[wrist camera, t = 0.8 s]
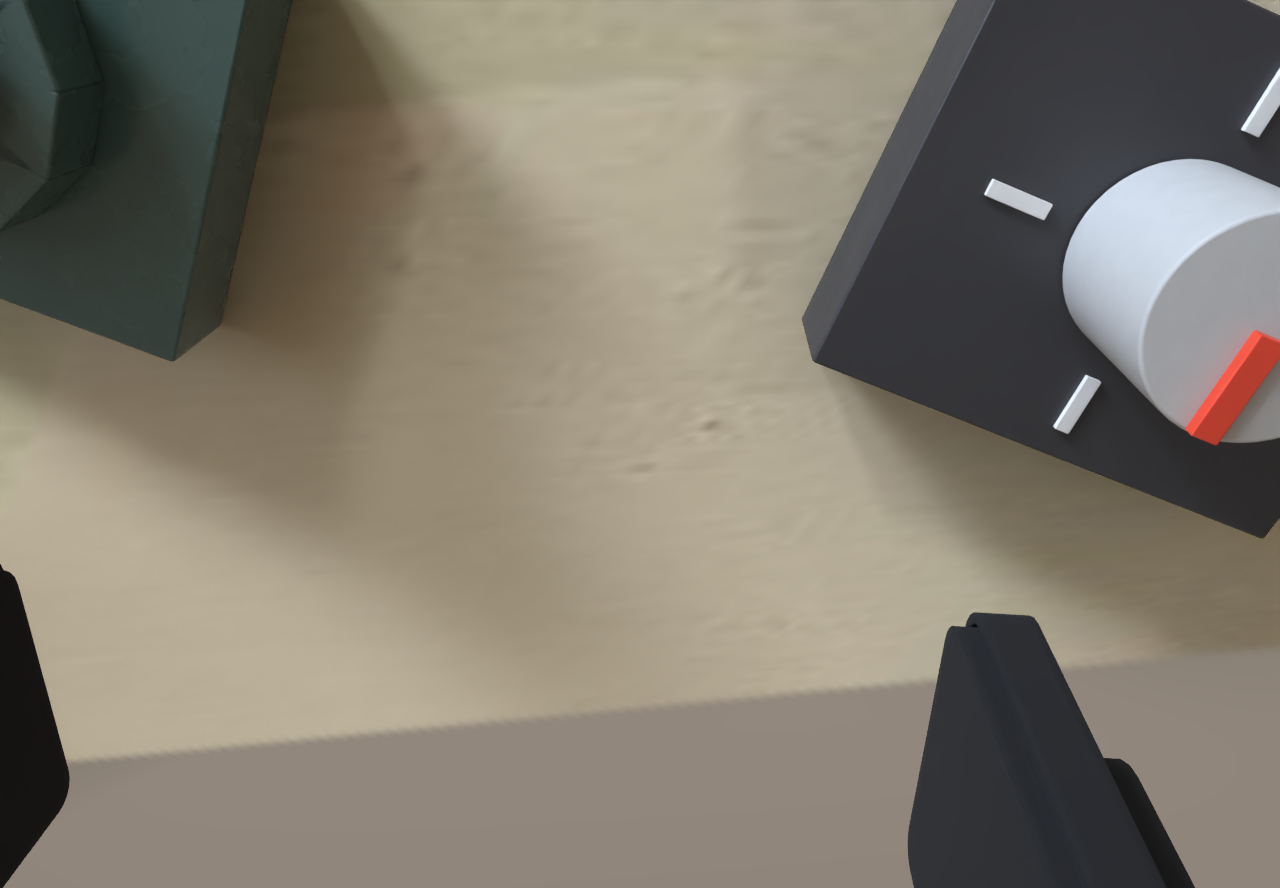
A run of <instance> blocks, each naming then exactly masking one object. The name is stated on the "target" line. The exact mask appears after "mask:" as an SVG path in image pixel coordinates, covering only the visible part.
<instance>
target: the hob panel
mask: <svg viewBox="0 0 1280 888" xmlns="http://www.w3.org/2000/svg"><path fill="white" fill-rule="evenodd" d="M1181 159H1201V160H1208V161H1213V162H1218V163H1221V164H1224V165H1227V166H1229V167H1232V168H1234V169H1237V170H1239V171H1241V172H1244V173H1246V174H1248V175H1251V176H1253V177H1256V178H1258V179H1260V180H1263V181H1265V182H1267V183H1270V184H1272V185H1275V186H1277V187H1279V188H1280V16H1279V15H1277V14H1275V13H1273V12H1271V11H1269V10H1266V9H1264V8H1262V7H1260V6H1258V5H1256V4H1253V3H1251V2H1249V1H1247V0H957V1H956V3H955V5H954V8H953V10H952V12H951V14H950V16H949V18H948V20H947V22H946V24H945V26H944V28H943V30H942V32H941V34H940V36H939V38H938V40H937V42H936V45H935V47H934V49H933V51H932V53H931V55H930V57H929V59H928V61H927V63H926V65H925V67H924V69H923V71H922V73H921V75H920V77H919V79H918V82H917V84H916V86H915V88H914V90H913V92H912V94H911V96H910V98H909V100H908V102H907V104H906V106H905V108H904V110H903V112H902V114H901V116H900V118H899V121H898V123H897V125H896V127H895V129H894V131H893V133H892V135H891V137H890V139H889V141H888V143H887V145H886V147H885V149H884V151H883V153H882V155H881V158H880V160H879V162H878V164H877V166H876V168H875V170H874V172H873V174H872V176H871V178H870V180H869V182H868V184H867V186H866V188H865V190H864V192H863V195H862V197H861V199H860V201H859V203H858V205H857V207H856V209H855V211H854V213H853V215H852V217H851V219H850V221H849V223H848V225H847V227H846V229H845V231H844V234H843V236H842V238H841V240H840V242H839V244H838V246H837V248H836V250H835V252H834V254H833V256H832V258H831V260H830V262H829V264H828V266H827V268H826V271H825V273H824V275H823V277H822V279H821V281H820V283H819V285H818V287H817V289H816V291H815V293H814V295H813V297H812V299H811V301H810V303H809V305H808V307H807V310H806V312H805V314H804V316H803V318H802V322H803V325H804V329H805V333H806V337H807V341H808V344H809V348H810V352H811V356H812V360H813V361H814V362H815V363H818V364H820V365H823V366H825V367H828V368H830V369H833V370H836V371H838V372H841V373H843V374H846V375H848V376H851V377H853V378H856V379H858V380H861V381H863V382H866V383H868V384H871V385H874V386H876V387H879V388H881V389H884V390H886V391H889V392H891V393H894V394H896V395H899V396H901V397H904V398H906V399H909V400H912V401H914V402H917V403H919V404H922V405H924V406H927V407H929V408H932V409H934V410H937V411H939V412H942V413H944V414H947V415H949V416H952V417H955V418H957V419H960V420H962V421H965V422H967V423H970V424H972V425H975V426H977V427H980V428H982V429H985V430H987V431H990V432H993V433H995V434H998V435H1000V436H1003V437H1005V438H1008V439H1010V440H1013V441H1015V442H1018V443H1020V444H1023V445H1025V446H1028V447H1031V448H1033V449H1036V450H1038V451H1041V452H1043V453H1046V454H1048V455H1051V456H1053V457H1056V458H1058V459H1061V460H1063V461H1066V462H1069V463H1071V464H1074V465H1076V466H1079V467H1081V468H1084V469H1086V470H1089V471H1091V472H1094V473H1096V474H1099V475H1101V476H1104V477H1106V478H1109V479H1112V480H1114V481H1117V482H1119V483H1122V484H1124V485H1127V486H1129V487H1132V488H1134V489H1137V490H1139V491H1142V492H1144V493H1147V494H1150V495H1152V496H1155V497H1157V498H1160V499H1162V500H1165V501H1167V502H1170V503H1172V504H1175V505H1177V506H1180V507H1182V508H1185V509H1188V510H1190V511H1193V512H1195V513H1198V514H1200V515H1203V516H1205V517H1208V518H1210V519H1213V520H1215V521H1218V522H1220V523H1223V524H1226V525H1228V526H1231V527H1233V528H1236V529H1238V530H1241V531H1243V532H1246V533H1248V534H1251V535H1253V536H1256V537H1258V538H1264V537H1265V536H1266V535H1267V533H1268V532H1269V531H1270V529H1271V528H1272V527H1273V526H1274V524H1275V523H1276V522H1277V520H1278V519H1279V518H1280V438H1277V439H1273V440H1267V441H1261V442H1251V443H1231V442H1221V441H1220V442H1219V443H1218V445H1213V444H1210V443H1208V442H1205V441H1203V440H1200V439H1198V438H1195V437H1193V436H1191V435H1190V434H1189V433H1188V432H1187V431H1185V430H1183V429H1181V428H1180V427H1178V426H1177V425H1175V424H1174V423H1172V422H1171V421H1169V420H1168V419H1167V418H1166V417H1165V416H1164V415H1163V414H1162V413H1161V412H1160V411H1159V410H1158V409H1157V408H1156V407H1155V406H1154V405H1153V404H1152V403H1151V402H1150V401H1149V400H1148V399H1147V398H1146V397H1145V396H1144V395H1143V394H1142V393H1141V392H1140V391H1139V390H1138V389H1137V388H1136V387H1135V386H1134V385H1133V384H1132V383H1131V382H1130V381H1129V380H1128V379H1127V377H1126V376H1125V375H1124V374H1123V373H1122V372H1121V371H1120V370H1119V369H1118V368H1117V367H1116V366H1115V365H1114V364H1113V363H1112V362H1111V361H1110V360H1109V359H1108V358H1107V357H1106V356H1105V355H1104V354H1103V353H1102V352H1101V351H1100V350H1099V349H1098V348H1097V347H1096V346H1095V345H1094V344H1093V343H1092V342H1091V341H1090V340H1089V339H1088V338H1087V337H1086V336H1085V335H1084V333H1083V332H1082V331H1081V330H1080V329H1079V327H1078V326H1077V325H1076V323H1075V322H1074V320H1073V318H1072V316H1071V314H1070V313H1069V310H1068V307H1067V304H1066V302H1065V297H1064V292H1063V278H1062V276H1063V265H1064V260H1065V256H1066V251H1067V248H1068V246H1069V243H1070V240H1071V238H1072V236H1073V234H1074V232H1075V230H1076V228H1077V226H1078V224H1079V223H1080V221H1081V220H1082V218H1083V217H1084V215H1085V214H1086V212H1087V211H1088V210H1089V209H1090V208H1091V206H1092V205H1093V204H1094V203H1095V202H1096V201H1097V200H1098V199H1099V198H1100V197H1101V196H1102V195H1103V194H1104V193H1105V192H1106V191H1107V190H1109V189H1110V188H1111V187H1113V186H1114V185H1115V184H1117V183H1118V182H1119V181H1121V180H1123V179H1124V178H1126V177H1128V176H1129V175H1131V174H1133V173H1135V172H1137V171H1140V170H1142V169H1144V168H1146V167H1149V166H1152V165H1155V164H1159V163H1162V162H1167V161H1172V160H1181Z"/></svg>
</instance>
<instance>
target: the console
mask: <svg viewBox="0 0 1280 888" xmlns="http://www.w3.org/2000/svg"><path fill="white" fill-rule="evenodd" d="M291 2H292V0H0V299H3V300H5V301H8V302H11V303H14V304H16V305H19V306H22V307H24V308H27V309H30V310H33V311H35V312H38V313H41V314H43V315H46V316H49V317H52V318H54V319H57V320H60V321H62V322H65V323H68V324H71V325H73V326H76V327H79V328H82V329H84V330H87V331H90V332H92V333H95V334H98V335H101V336H103V337H106V338H109V339H111V340H114V341H117V342H120V343H122V344H125V345H128V346H131V347H133V348H136V349H139V350H141V351H144V352H147V353H150V354H152V355H155V356H158V357H160V358H163V359H166V360H169V361H172V362H174V361H176V360H177V359H178V358H179V357H181V356H182V355H183V354H185V353H186V352H187V351H188V350H190V349H191V348H192V347H193V346H195V345H196V344H197V343H198V342H200V341H201V340H202V339H204V338H205V337H206V336H207V335H209V334H210V333H211V332H212V331H214V330H215V329H216V328H218V327H219V326H220V322H221V317H222V313H223V308H224V304H225V299H226V295H227V290H228V286H229V281H230V277H231V272H232V268H233V263H234V259H235V254H236V250H237V245H238V241H239V236H240V232H241V227H242V223H243V218H244V214H245V209H246V205H247V200H248V196H249V191H250V187H251V182H252V178H253V173H254V169H255V164H256V160H257V155H258V151H259V146H260V142H261V137H262V133H263V128H264V124H265V119H266V115H267V110H268V106H269V101H270V97H271V92H272V88H273V83H274V79H275V74H276V69H277V65H278V60H279V56H280V51H281V47H282V42H283V38H284V33H285V29H286V24H287V20H288V15H289V11H290V6H291Z"/></svg>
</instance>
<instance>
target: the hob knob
mask: <svg viewBox="0 0 1280 888" xmlns="http://www.w3.org/2000/svg"><path fill="white" fill-rule="evenodd" d="M1062 278H1063V292H1064V297H1065V302H1066V304H1067V307H1068V310H1069V313H1070V314H1071V316H1072V318H1073V320H1074V322H1075V323H1076V325H1077V326H1078V327H1079V329H1080V330H1081V331H1082V332H1083V333H1084V335H1085V336H1086V337H1087V338H1088V339H1089V340H1090V341H1091V342H1092V343H1093V344H1094V345H1095V346H1096V347H1097V348H1098V349H1099V350H1100V351H1101V352H1102V353H1103V354H1104V355H1105V356H1106V357H1107V358H1108V359H1109V360H1110V361H1111V362H1112V363H1113V364H1114V365H1115V366H1116V367H1117V368H1118V369H1119V370H1120V371H1121V372H1122V373H1123V374H1124V375H1125V376H1126V377H1127V379H1128V380H1129V381H1130V382H1131V383H1132V384H1133V385H1134V386H1135V387H1136V388H1137V389H1138V390H1139V391H1140V392H1141V393H1142V394H1143V395H1144V396H1145V397H1146V398H1147V399H1148V400H1149V401H1150V402H1151V403H1152V404H1153V405H1154V406H1155V407H1156V408H1157V409H1158V410H1159V411H1160V412H1161V413H1162V414H1163V415H1164V416H1165V417H1166V418H1167V419H1168V420H1169V421H1171V422H1172V423H1174V424H1175V425H1177V426H1178V427H1180V428H1181V429H1183V430H1185V431H1187V432H1188V433H1189V434H1190V435H1191V436H1193V437H1195V438H1198V439H1200V440H1203V441H1205V442H1208V443H1210V444H1213V445H1218V443H1219V442H1220V441H1221V442H1231V443H1251V442H1261V441H1267V440H1273V439H1277V438H1280V188H1279V187H1277V186H1275V185H1272V184H1270V183H1267V182H1265V181H1263V180H1260V179H1258V178H1256V177H1253V176H1251V175H1248V174H1246V173H1244V172H1241V171H1239V170H1237V169H1234V168H1232V167H1229V166H1227V165H1224V164H1221V163H1218V162H1213V161H1208V160H1201V159H1181V160H1172V161H1167V162H1162V163H1159V164H1155V165H1152V166H1149V167H1146V168H1144V169H1142V170H1140V171H1137V172H1135V173H1133V174H1131V175H1129V176H1128V177H1126V178H1124V179H1123V180H1121V181H1119V182H1118V183H1117V184H1115V185H1114V186H1113V187H1111V188H1110V189H1109V190H1107V191H1106V192H1105V193H1104V194H1103V195H1102V196H1101V197H1100V198H1099V199H1098V200H1097V201H1096V202H1095V203H1094V204H1093V205H1092V206H1091V208H1090V209H1089V210H1088V211H1087V212H1086V214H1085V215H1084V217H1083V218H1082V220H1081V221H1080V223H1079V224H1078V226H1077V228H1076V230H1075V232H1074V234H1073V236H1072V238H1071V240H1070V243H1069V246H1068V248H1067V251H1066V256H1065V260H1064V265H1063V276H1062Z"/></svg>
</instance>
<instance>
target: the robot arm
mask: <svg viewBox="0 0 1280 888" xmlns="http://www.w3.org/2000/svg"><path fill="white" fill-rule="evenodd" d="M68 789H69V770H68V767H67V763H66V759H65V756H64V752H63V748H62V745H61V741H60V737H59V734H58V730H57V726H56V723H55V719H54V715H53V712H52V708H51V704H50V700H49V697H48V693H47V689H46V686H45V682H44V678H43V675H42V671H41V667H40V664H39V660H38V656H37V653H36V649H35V645H34V642H33V638H32V634H31V631H30V627H29V623H28V620H27V616H26V612H25V609H24V605H23V601H22V598H21V594H20V590H19V587H18V584H17V581H16V579H15V577H14V576H13V575H12V574H11V573H10V572H7V571H4V570H3V568H2V566H1V564H0V888H3V887H4V885H5V884H6V882H7V881H8V880H9V879H10V877H11V876H12V874H13V873H14V872H15V870H16V869H17V868H18V866H19V865H20V864H21V862H22V861H23V860H24V858H25V857H26V856H27V854H28V853H29V852H30V850H31V849H32V847H33V846H34V845H35V844H36V842H37V841H38V840H39V838H40V837H41V836H42V834H43V833H44V831H45V830H46V829H47V827H48V826H49V825H50V823H51V822H52V821H53V819H54V818H55V817H56V815H57V814H58V813H59V811H60V809H61V808H62V806H63V804H64V802H65V799H66V797H67V793H68ZM908 858H909V865H910V871H911V875H912V880H913V885H914V888H1195V887H1194V885H1193V883H1192V881H1191V879H1190V877H1189V875H1188V873H1187V871H1186V869H1185V867H1184V866H1183V864H1182V861H1181V860H1180V858H1179V856H1178V854H1177V852H1176V850H1175V848H1174V846H1173V844H1172V842H1171V840H1170V838H1169V836H1168V834H1167V832H1166V830H1165V829H1164V827H1163V825H1162V823H1161V821H1160V819H1159V817H1158V815H1157V813H1156V811H1155V809H1154V807H1153V805H1152V804H1151V801H1150V799H1149V798H1148V796H1147V794H1146V792H1145V790H1144V788H1143V786H1142V784H1141V782H1140V780H1139V778H1138V777H1137V775H1136V774H1135V772H1134V771H1133V769H1132V768H1131V767H1130V765H1129V764H1127V763H1125V762H1124V761H1123V760H1121V759H1110V758H1103V756H1102V754H1101V752H1100V750H1099V748H1098V746H1097V744H1096V742H1095V740H1094V738H1093V735H1092V734H1091V731H1090V729H1089V727H1088V725H1087V723H1086V721H1085V719H1084V717H1083V715H1082V713H1081V711H1080V709H1079V707H1078V705H1077V703H1076V700H1075V698H1074V696H1073V694H1072V692H1071V690H1070V688H1069V686H1068V684H1067V682H1066V680H1065V678H1064V676H1063V674H1062V672H1061V670H1060V667H1059V665H1058V663H1057V661H1056V659H1055V657H1054V655H1053V653H1052V651H1051V649H1050V647H1049V645H1048V643H1047V641H1046V639H1045V637H1044V635H1043V633H1042V630H1041V628H1040V626H1039V624H1038V623H1037V621H1036V620H1035V618H1034V617H1031V616H1026V615H1009V614H992V613H972V614H971V615H970V616H969V618H968V620H967V623H966V626H965V627H959V626H952V627H950V628H949V630H948V632H947V635H946V638H945V643H944V648H943V654H942V659H941V664H940V669H939V674H938V680H937V685H936V690H935V695H934V700H933V705H932V711H931V716H930V721H929V726H928V731H927V737H926V742H925V747H924V752H923V757H922V763H921V768H920V773H919V779H918V783H917V788H916V794H915V799H914V804H913V809H912V814H911V820H910V825H909V832H908Z"/></svg>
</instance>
